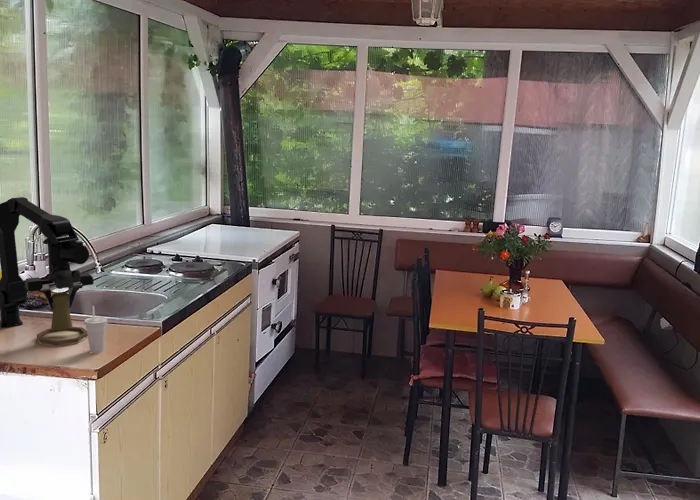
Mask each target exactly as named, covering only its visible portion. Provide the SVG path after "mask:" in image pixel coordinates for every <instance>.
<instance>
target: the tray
mask: <svg viewBox="0 0 700 500" xmlns="http://www.w3.org/2000/svg"><path fill="white" fill-rule="evenodd" d="M36 339H37V342H38V343H39V345H42V346H46V347H64V346H70V345H71V346H72V345H76V344H78V343H81V342H83V341H85V340H86V339H88V335H87V330H86V328H84V327H82V326H72V327H71V328H69V329H65V330H54V329H52V328H51V327H50V328H47V329H45V330H42V331H41V332H38V333H37V334H36Z"/></svg>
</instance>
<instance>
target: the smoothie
mask: <svg viewBox="0 0 700 500" xmlns="http://www.w3.org/2000/svg"><path fill="white" fill-rule="evenodd" d="M95 314H96V313H95V305H92V316H91V317H88V318H86V319H84V322H83V324H84V325H85V330H86V331H87V335H88V336H87V339H88V344H89V350H90V351H89V352H90V353H91V352H92V353H91V354H100V353H103V352H104V350H105V339H106V329H107V324H108V318H107V317H103V316H96V315H95ZM99 352H100V353H99Z"/></svg>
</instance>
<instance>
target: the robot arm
mask: <svg viewBox="0 0 700 500" xmlns="http://www.w3.org/2000/svg"><path fill="white" fill-rule="evenodd" d="M20 216H22V217H24V218H25V219H26V220H28V221H30V222H31V223H33V224H35V225H36V226H37V227H38V228H39V231H40V233H41V234H42V235H43V236H45V237H46V239H44V240H43V241H42V244H45V245H47V256H48V257H47V258H48V263H47V265H48V279H41V278H40V277H38V276H37V277H28V278H26V279H25V280H24V279H23V278H22V277H21V275H20V274H19V272H20V271H19V264H18V262H19V261H18V254H17V245H16V234H15V233H16V232H15V231H16V229H17V228H18V226H19V224H20ZM89 257H90V251H89V249H88V247H87V246H85V245H84V242H83V241H82V240H79V237H78V234H77V232H76V231H75V229H74V228H73V225H72V223H71V221H70V220H69V219H68V218H66V217H63V216H61V215H58V214H57V215H56V214H51V213H49V212H47V211H46V210H44V209H42V208H41V207H39V206H37V205H36V204H34V203H32V202H31V201H29V199H28V198H27V197H24V196H18V197H11V198H10V199H8V200H6V201H4V202H1V203H0V273H1V277H0V328H6V327H14V326H21V325H23V324H24V323H23V321H22V320H21V317H20V316H21V314H20V305H25V304H26V302H27V297H28V292H39V293H41V294H43V295H44V296H45V300H46V302H47V303H48V305H49V308H50V309H51V311H53V305H54V304H53V303H52V290H51V289H50V286H55V288H56V289H58V290H62V289H68V294H69V297H70V299H69V302H68V306H69V309H70V308H72V305H73V302H74V299H75V296H76V294H77V292H79V291H78V290H81V289H83V287H84V286H91V285H94V284H95V283H94V276H93V275H92V274H90V273H89V272H80V270H77V269H76V270H71V265H70V263H71V264H76V265H83V264H85V263H86V262H87V261H88V260H89Z"/></svg>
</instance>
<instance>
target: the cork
mask: <svg viewBox="0 0 700 500" xmlns="http://www.w3.org/2000/svg"><path fill="white" fill-rule="evenodd" d="M51 297H52V303H53V310H52V316H51V318H52V319H51V325H50V328H52V329H54V330H65V329H69V328H71V327H73V322H72V318H71V312H70V308H69V304H68V302H69V299H70V297H69V294H68V293H67V292H65V291H59V292H55V293H52V294H51Z"/></svg>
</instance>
